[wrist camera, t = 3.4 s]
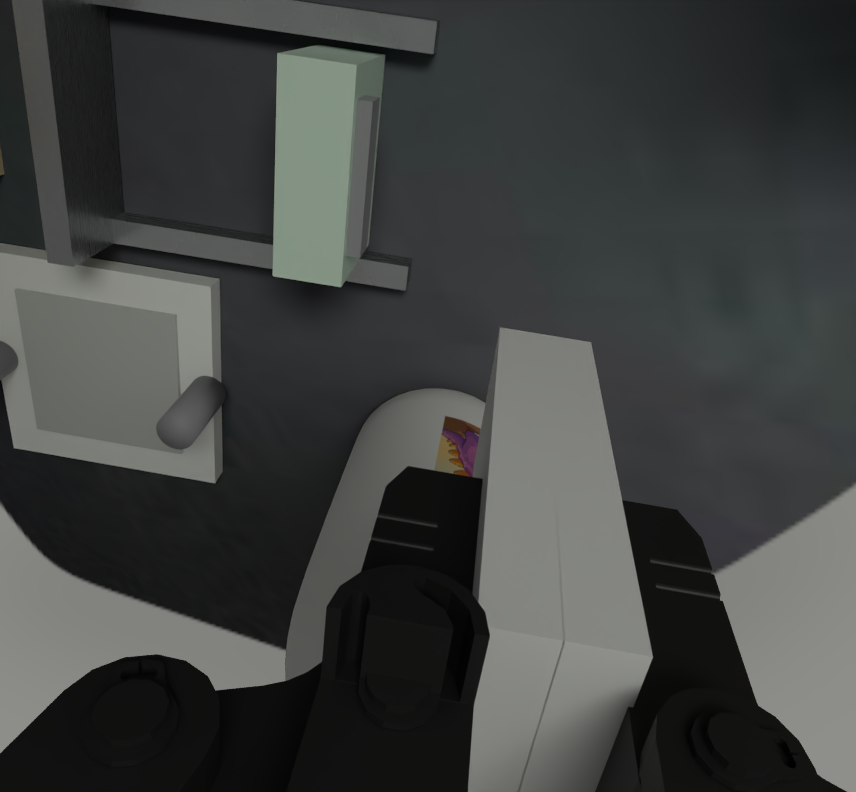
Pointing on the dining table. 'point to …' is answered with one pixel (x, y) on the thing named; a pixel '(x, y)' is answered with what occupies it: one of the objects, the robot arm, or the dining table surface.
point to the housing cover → (324, 160)
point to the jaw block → (1, 164)
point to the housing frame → (97, 125)
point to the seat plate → (112, 363)
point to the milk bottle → (378, 497)
